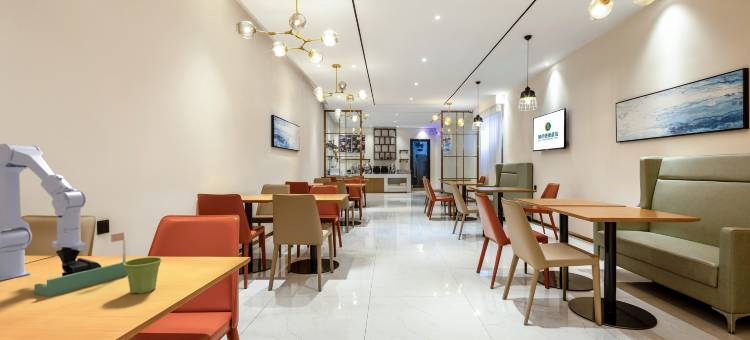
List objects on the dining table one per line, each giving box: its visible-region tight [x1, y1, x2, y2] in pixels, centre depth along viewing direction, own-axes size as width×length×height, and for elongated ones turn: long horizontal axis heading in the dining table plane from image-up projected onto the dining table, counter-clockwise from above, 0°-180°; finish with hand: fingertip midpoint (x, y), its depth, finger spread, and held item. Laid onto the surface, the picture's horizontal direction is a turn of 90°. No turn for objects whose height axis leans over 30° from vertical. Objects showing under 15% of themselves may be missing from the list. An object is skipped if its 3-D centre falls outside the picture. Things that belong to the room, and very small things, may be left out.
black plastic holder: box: [61, 257, 102, 277], centre depth 111 cm, size 10×7×7 cm
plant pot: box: [123, 256, 163, 295], centre depth 103 cm, size 9×9×9 cm
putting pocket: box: [33, 231, 128, 297], centre depth 110 cm, size 7×22×14 cm, turn 159°
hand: (68, 271), depth 113 cm, fingers closed, pressing on black plastic holder
